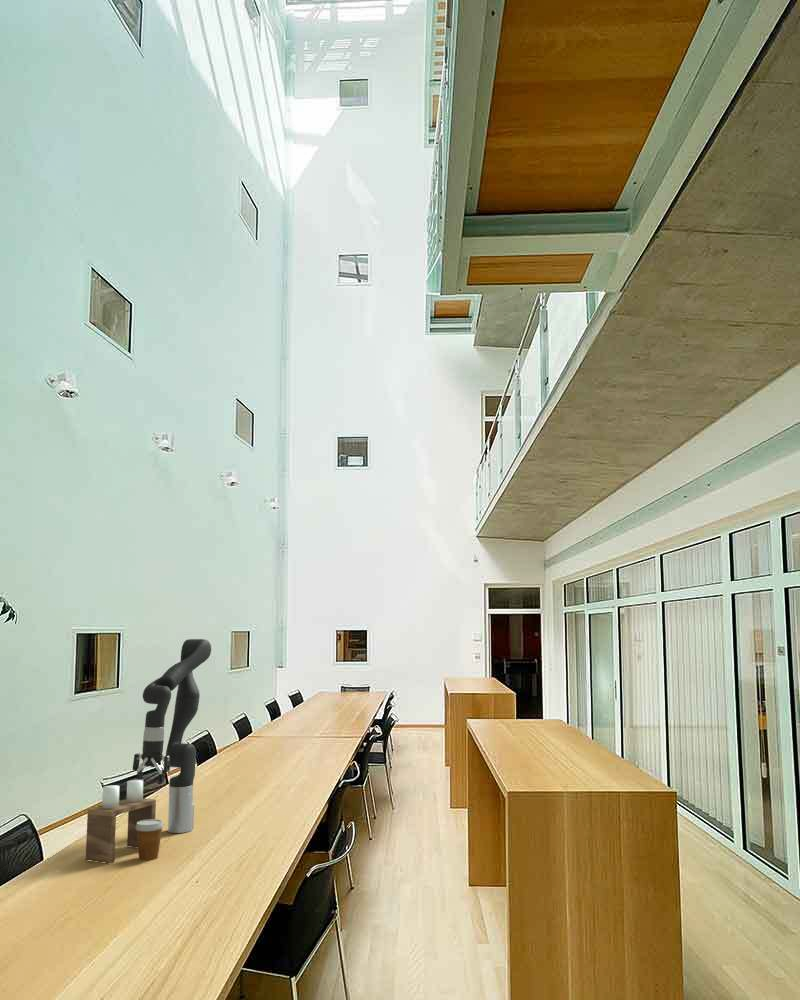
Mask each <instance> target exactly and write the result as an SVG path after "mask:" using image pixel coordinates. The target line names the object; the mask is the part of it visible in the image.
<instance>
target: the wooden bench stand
mask: <svg viewBox="0 0 800 1000" xmlns="http://www.w3.org/2000/svg"><path fill="white" fill-rule="evenodd" d="M156 804H157V799H154V798H145V797H143V801H141V802H135V803H129V802H127V798H125V799H122V800H121V799H120V800H119V807H118V808H115V809H102V805H98V806H95V807H91V808H87V818H86V819H87V820H86V821H87V822H86V842H85V843H86V846H85V861H86V860H92V861H98V862H105V863H112V864H114V863H115V855H116V854H115V853H116V852H115V850H116V849H115V848H116V825H117V823H116V821H117V816H119V815H121V814H125V813H127V814H128V815H127V836H126V837H127V840H126V842H127V843H126V847H127V846H132V847H131V848H133V847H138V841H137V830H136V828H135V826H136V824H137V822H139V821H142V820H149V819H156V815H157V814H156V806H157V805H156ZM98 862H97V863H98ZM113 862H114V863H113ZM105 863H104V864H105Z"/></svg>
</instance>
